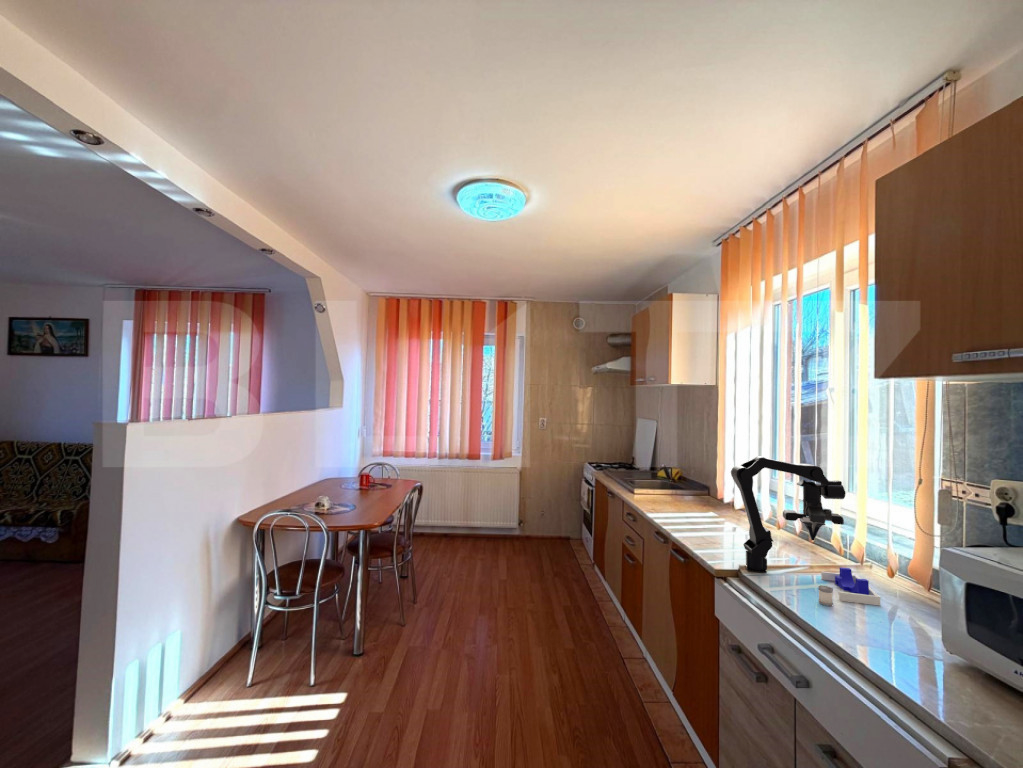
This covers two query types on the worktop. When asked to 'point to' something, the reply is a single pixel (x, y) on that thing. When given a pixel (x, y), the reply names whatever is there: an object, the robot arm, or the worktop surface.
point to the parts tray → (853, 597)
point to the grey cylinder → (825, 595)
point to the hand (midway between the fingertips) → (812, 540)
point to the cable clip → (851, 582)
